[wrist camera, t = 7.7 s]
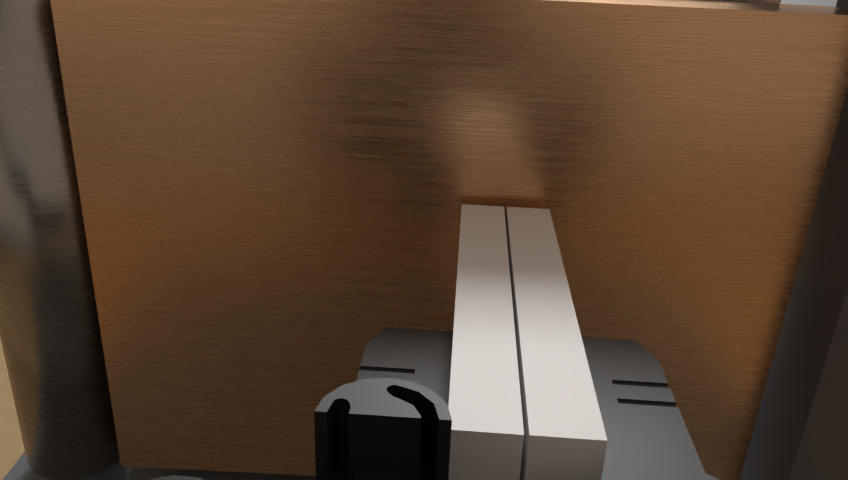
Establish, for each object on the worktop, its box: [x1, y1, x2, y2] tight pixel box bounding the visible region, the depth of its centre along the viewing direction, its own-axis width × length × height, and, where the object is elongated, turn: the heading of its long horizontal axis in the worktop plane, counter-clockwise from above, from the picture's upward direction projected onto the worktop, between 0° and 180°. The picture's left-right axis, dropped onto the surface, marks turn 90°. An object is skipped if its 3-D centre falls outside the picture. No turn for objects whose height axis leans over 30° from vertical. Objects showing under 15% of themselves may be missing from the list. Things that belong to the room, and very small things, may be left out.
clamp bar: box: [0, 0, 848, 480], centre depth 15 cm, size 15×2×10 cm, turn 89°
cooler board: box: [3, 0, 848, 480], centre depth 15 cm, size 18×24×14 cm
